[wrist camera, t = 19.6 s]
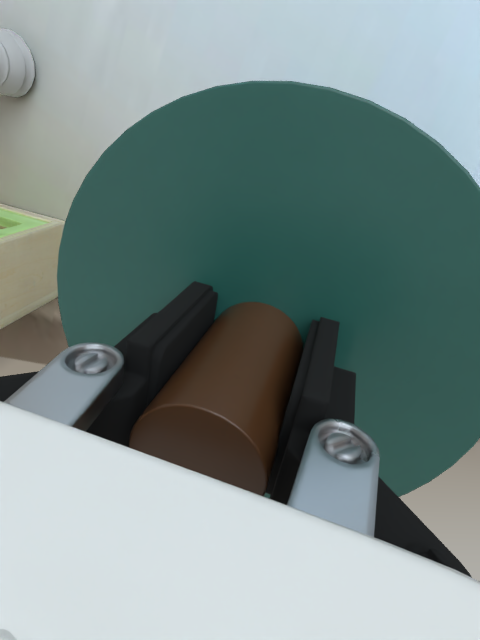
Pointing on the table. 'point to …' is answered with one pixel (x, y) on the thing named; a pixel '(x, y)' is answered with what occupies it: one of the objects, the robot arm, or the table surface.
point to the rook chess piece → (15, 64)
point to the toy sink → (27, 261)
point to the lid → (286, 272)
